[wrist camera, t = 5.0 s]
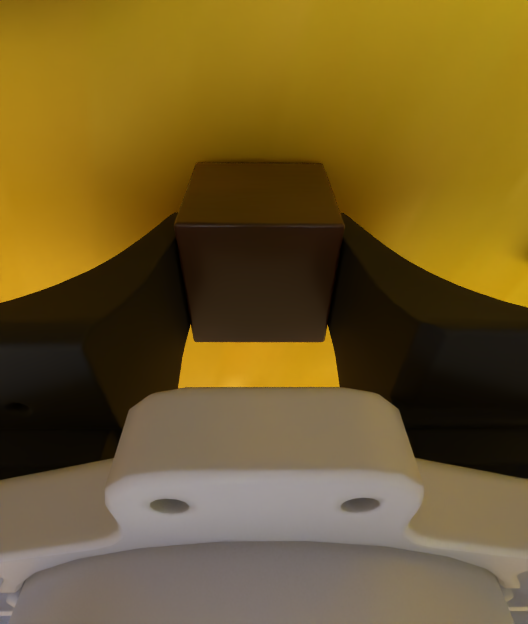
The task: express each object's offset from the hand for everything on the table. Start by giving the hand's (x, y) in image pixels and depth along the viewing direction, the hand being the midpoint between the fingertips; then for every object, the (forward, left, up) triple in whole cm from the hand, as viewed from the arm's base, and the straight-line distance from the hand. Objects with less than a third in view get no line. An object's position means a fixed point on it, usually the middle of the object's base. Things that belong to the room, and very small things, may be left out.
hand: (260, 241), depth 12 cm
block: (0, 0, -1) cm, 1 cm away
